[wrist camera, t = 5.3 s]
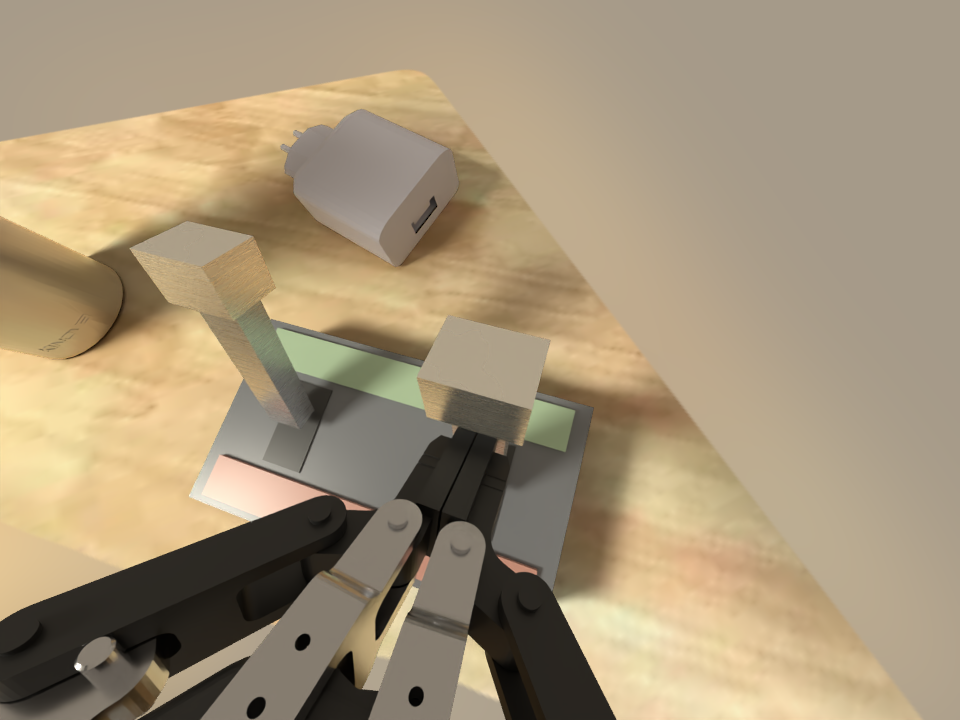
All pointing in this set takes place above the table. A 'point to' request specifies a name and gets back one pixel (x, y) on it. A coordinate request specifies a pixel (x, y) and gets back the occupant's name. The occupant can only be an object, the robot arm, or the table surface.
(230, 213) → the table surface
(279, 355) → the lever on
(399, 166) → the charger
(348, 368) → the switch box
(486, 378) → the switch lever
